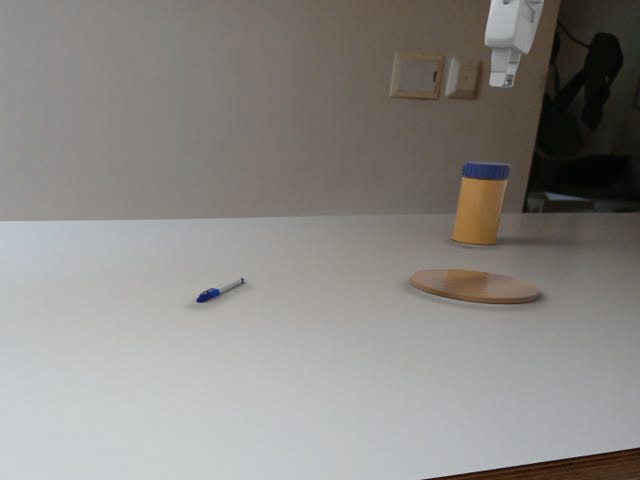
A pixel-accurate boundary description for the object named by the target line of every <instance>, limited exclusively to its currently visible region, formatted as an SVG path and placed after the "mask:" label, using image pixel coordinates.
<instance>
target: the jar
mask: <svg viewBox="0 0 640 480" xmlns="http://www.w3.org/2000/svg"><path fill="white" fill-rule="evenodd" d="M460 181H461V182H460V187H459V193H458V199H457V206H456V210H455V211H456V212H455V217H454V224H453V230H452V236H451V240H453V241H455V242H458V243H461V244H462V243H463V244H471V245H483V246H486V245H487V246H489V245H494V244H496V242H497V237H498V232H499V227H500V223H501V222H500V221H501V215H502V210H503V206H504V201H505V195H506V189H507V185H508V179H484V178H473V177H466V176H463V175H462V176H461V180H460Z"/></svg>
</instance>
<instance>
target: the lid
mask: <svg viewBox="0 0 640 480" xmlns="http://www.w3.org/2000/svg"><path fill="white" fill-rule="evenodd" d="M510 174H511V164H510V163H505V162H498V161H486V160H465V161H464V162H463V165H462V170H461V175H462V177H463V176H466V177H473V178H484V179H507V180H508V179H509V177H510Z"/></svg>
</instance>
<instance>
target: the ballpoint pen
mask: <svg viewBox="0 0 640 480" xmlns="http://www.w3.org/2000/svg"><path fill="white" fill-rule="evenodd" d="M244 281H245V279H244V278H243V277H239V278H236V279H234V280H232V281H229V282H228V283H225V284H223V285H221V286H219V287H217V288H214V287H211V288H208V289H206V290H204V291H202V292H201V293H200V294H199V295H198V297H197V298H196V303H199V304H201V303H204V302H207V301H209V300H210V299H213V298H215V297H217V296H219V295H221V294H222V293H225V292H226V291H228V290H231V289H233V288H235V287H237V286H239V285H241V284H242V283H244Z"/></svg>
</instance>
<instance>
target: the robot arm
mask: <svg viewBox="0 0 640 480" xmlns="http://www.w3.org/2000/svg"><path fill="white" fill-rule="evenodd" d="M544 3H545V0H490V7H489V12H488V17H487V22H486V27H485V33H484V46H486V47H488V48H489V49H492V50H491V58H490V77H489V86H491V87H497V88H498V87H499V88H500V89H511V88H512V87H513V86H514V82H515V77H516V73H517V70H518V67H519V65H520V61H521V56H526V55H528V54H529V53H530V50H531V49H532V46H533V42H534V39H535V37H536V33H537V29H538V26H539V22H540V19H541V15H542V11H543V8H544Z"/></svg>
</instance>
